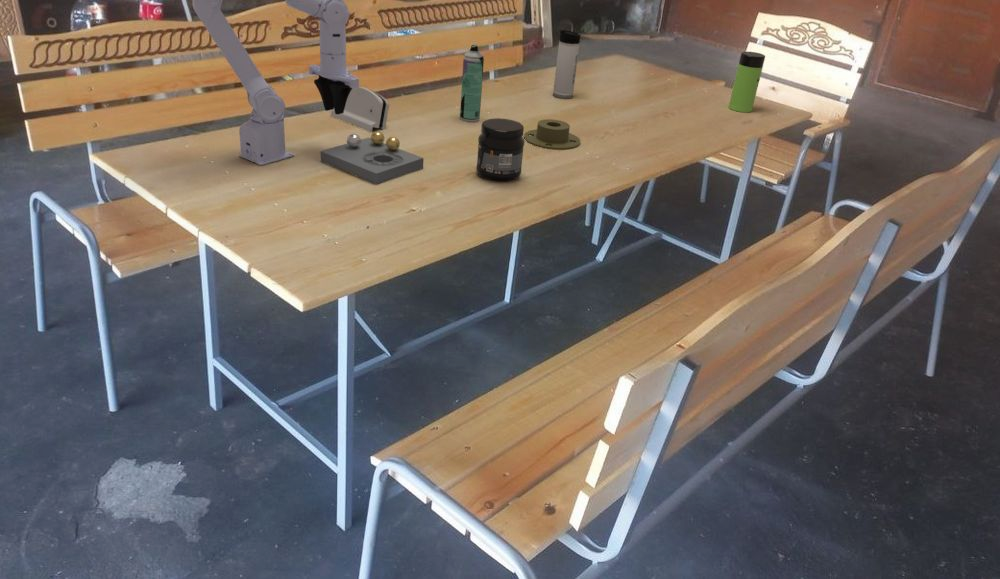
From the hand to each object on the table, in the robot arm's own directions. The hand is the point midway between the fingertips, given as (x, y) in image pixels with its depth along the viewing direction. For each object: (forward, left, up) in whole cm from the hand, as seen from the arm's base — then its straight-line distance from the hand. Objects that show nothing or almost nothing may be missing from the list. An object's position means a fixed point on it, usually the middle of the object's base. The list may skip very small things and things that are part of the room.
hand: (334, 111), depth 181 cm
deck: (0, -12, -9) cm, 16 cm away
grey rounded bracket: (+20, +12, -10) cm, 25 cm away
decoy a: (+6, -8, -5) cm, 11 cm away
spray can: (+45, -4, -10) cm, 46 cm away
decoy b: (+6, -13, -5) cm, 16 cm away
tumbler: (+124, -51, -10) cm, 135 cm away
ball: (0, -6, -5) cm, 8 cm away
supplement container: (+18, -35, -10) cm, 41 cm away
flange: (+49, -29, -10) cm, 58 cm away
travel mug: (+87, -7, -10) cm, 88 cm away
